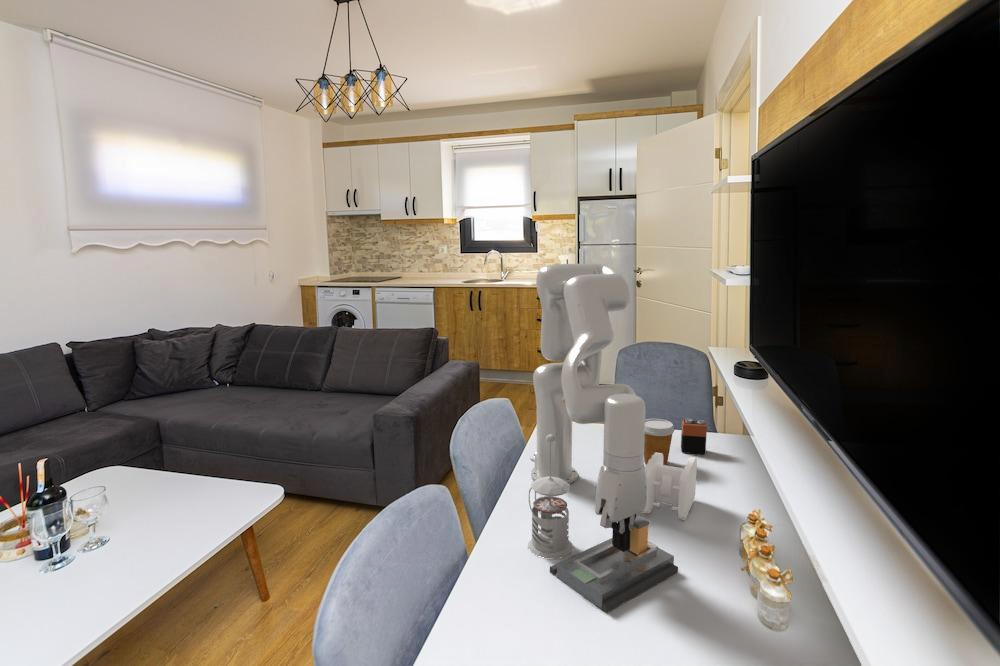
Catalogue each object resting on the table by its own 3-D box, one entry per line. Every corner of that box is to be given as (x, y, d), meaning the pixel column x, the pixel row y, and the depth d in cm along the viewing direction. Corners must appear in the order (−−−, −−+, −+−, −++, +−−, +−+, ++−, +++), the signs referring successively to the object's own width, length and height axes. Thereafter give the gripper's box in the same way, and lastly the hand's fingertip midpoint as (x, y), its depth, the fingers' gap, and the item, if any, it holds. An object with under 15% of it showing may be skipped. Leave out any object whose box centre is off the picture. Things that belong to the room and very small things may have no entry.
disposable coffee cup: (676, 461, 166) (678, 421, 163) (667, 472, 158) (669, 431, 155) (644, 454, 171) (646, 416, 168) (633, 465, 163) (635, 425, 160)
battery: (680, 448, 175) (682, 416, 174) (703, 449, 174) (705, 418, 172) (681, 453, 171) (683, 421, 169) (705, 455, 170) (707, 423, 168)
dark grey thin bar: (601, 609, 101) (601, 603, 101) (672, 569, 113) (673, 564, 113) (606, 613, 101) (606, 606, 100) (677, 572, 112) (678, 567, 112)
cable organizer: (684, 527, 129) (686, 479, 127) (637, 516, 134) (639, 470, 132) (695, 499, 142) (698, 455, 140) (653, 491, 147) (654, 448, 145)
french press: (545, 564, 115) (545, 447, 111) (513, 538, 125) (512, 430, 121) (582, 549, 121) (584, 437, 116) (549, 526, 130) (549, 421, 126)
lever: (623, 546, 115) (624, 517, 114) (633, 542, 117) (634, 513, 116) (638, 555, 112) (639, 525, 111) (648, 550, 114) (649, 520, 113)
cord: (549, 572, 113) (549, 566, 112) (619, 539, 124) (619, 534, 124) (553, 575, 112) (553, 569, 111) (623, 541, 123) (623, 536, 123)
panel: (556, 577, 111) (556, 559, 110) (627, 543, 123) (628, 526, 122) (601, 610, 101) (601, 589, 101) (674, 569, 113) (674, 551, 112)
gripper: (634, 444, 116) (632, 528, 119) (580, 462, 107) (579, 551, 111) (664, 456, 110) (661, 543, 113) (610, 475, 101) (608, 570, 105)
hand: (621, 547), depth 112 cm, fingers closed
